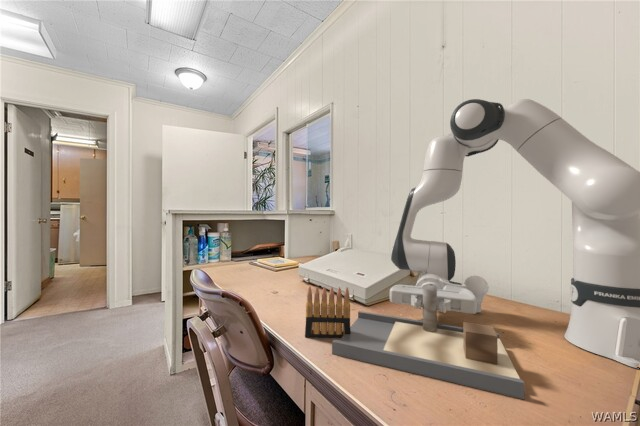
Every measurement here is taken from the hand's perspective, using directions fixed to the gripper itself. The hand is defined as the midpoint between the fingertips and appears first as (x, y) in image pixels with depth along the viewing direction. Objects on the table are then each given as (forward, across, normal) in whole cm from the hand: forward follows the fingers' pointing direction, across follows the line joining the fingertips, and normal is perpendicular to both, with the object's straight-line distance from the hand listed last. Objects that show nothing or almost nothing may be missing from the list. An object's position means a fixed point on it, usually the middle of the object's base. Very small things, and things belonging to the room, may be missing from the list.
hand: (429, 307), depth 61 cm
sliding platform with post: (+6, +3, +6) cm, 9 cm away
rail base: (+6, -2, +8) cm, 10 cm away
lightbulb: (-25, +12, +8) cm, 29 cm away
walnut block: (+8, +9, +6) cm, 13 cm away
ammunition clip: (+8, -22, +8) cm, 25 cm away
